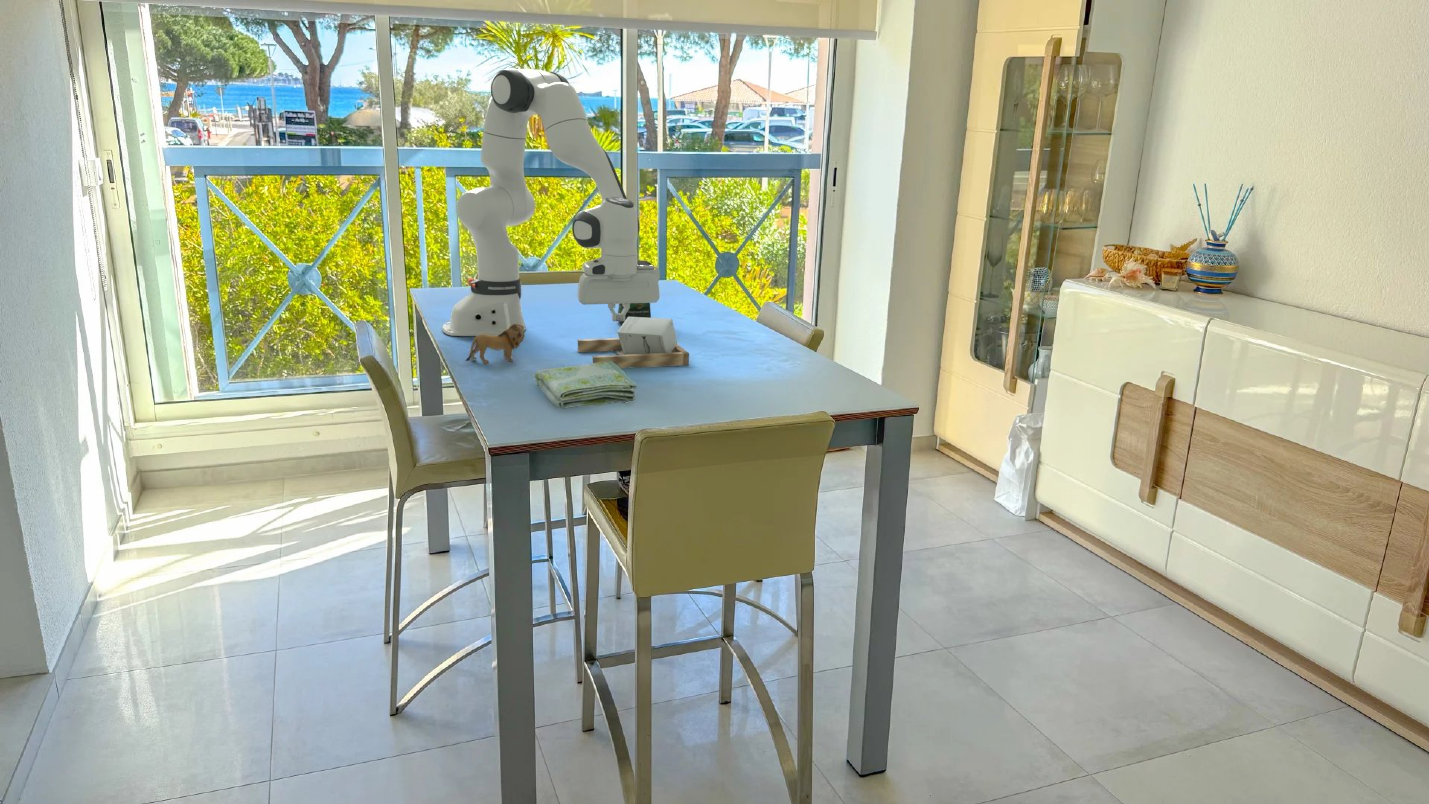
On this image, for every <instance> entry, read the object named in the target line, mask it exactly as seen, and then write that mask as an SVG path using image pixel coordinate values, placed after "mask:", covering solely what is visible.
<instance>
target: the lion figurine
mask: <svg viewBox="0 0 1429 804" xmlns="http://www.w3.org/2000/svg"><path fill="white" fill-rule="evenodd" d="M525 333H526V332H525V330H524V326H522V325H521V324H516V323H515V324H513V325H511V326H510V327H509V329H507V330H505V331H504V332H502V333H501V334H500V335H498V336H490V335H486V334H482V335H478V336H474V339H473V340H472V342H471V345H470V349H469V350H470V351H469V355H468V357H467V358H466V359H465V360H464V361H465V362H469V361H470V360H471V361H477V357H475V355H476V354H477V353H479V359H480V360H481V361H482V362H483V363H484V364H489V360H488V359H486V358H485V354H486V350H487V348H488V349H490V350H493V351H503V358H504V360H507V362H509V363H514V360H515V359H512V355H513V350H514V349H516V350H517V349H518V348H519V347H520V345H521V343H523V341H524V339H525Z"/></svg>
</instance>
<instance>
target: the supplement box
mask: <svg viewBox="0 0 1429 804" xmlns="http://www.w3.org/2000/svg"><path fill="white" fill-rule="evenodd" d="M673 322H674V321H673V318H662V317H659V318H658V317H657V318H656V317H651V318H645V317H628V318H627V319H626V320H625V322H624V323H623V324H621V325H620V328H619V329H618V330H617V332H616V333H617V336H618V338H619V339H620V343H621V346H622V350H623V354H624V355H629V354H651V353H671V352H672V351H673V349H674V347H675V346H676V344H678V338H677V334H676V330H675V326H674V323H673Z"/></svg>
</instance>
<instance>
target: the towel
mask: <svg viewBox="0 0 1429 804" xmlns="http://www.w3.org/2000/svg"><path fill="white" fill-rule="evenodd" d="M534 379H535V382H536V383H535V384H536V385H537V386H538V387H539V388H540V390H541V391H542V392H543V393H544V394H545V396H546V398H548V399H549V400H550V401H551V403H552V404H553V405H554V406H555V407H557V408H558V409H561V408H564V409H567V408H574V407H575V408H576V407H583V406H593V405H594V406H595V405H603V404H604V405H605V404H611V402H614V403H622V402H628V403H629V401H634V400H635V401H636V399H635V397H636V390H635V389H637V388H638V385H637V383H636V382H635V381H634V380H632V379H631V378H630V377H629V376H628V375H627V374H626V373H625V371H624V370H623V369H622V368H619V367H618V366H617V365H616V364H615V363H614V362H612V361H609V362H599V363H593V362H592V363H586V364H578V365H577V364H576V365H569V366H561V367H554V368H553V367H552V368H546V369H541V370H537V371H536V372H535V373H534ZM635 401H634V402H635Z"/></svg>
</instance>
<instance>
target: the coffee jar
mask: <svg viewBox="0 0 1429 804" xmlns="http://www.w3.org/2000/svg"><path fill="white" fill-rule="evenodd" d="M637 265H646V266H649V265H652V263H651V262H650V261H648V260H641V259H640V260H639V259H637ZM646 270H649V269H646ZM623 308H624V307H623V306H622V304H618V310H617V313H621V312H622V310H623ZM651 310H652V309H651V303H630V308H629V310H628V312H627V313H626V314H625V320H626V319H627V318H628V317H645V318H652V314H651ZM617 322H618V323H619V324H620V325H622V324H623V323H624V322H625V321H617Z"/></svg>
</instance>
